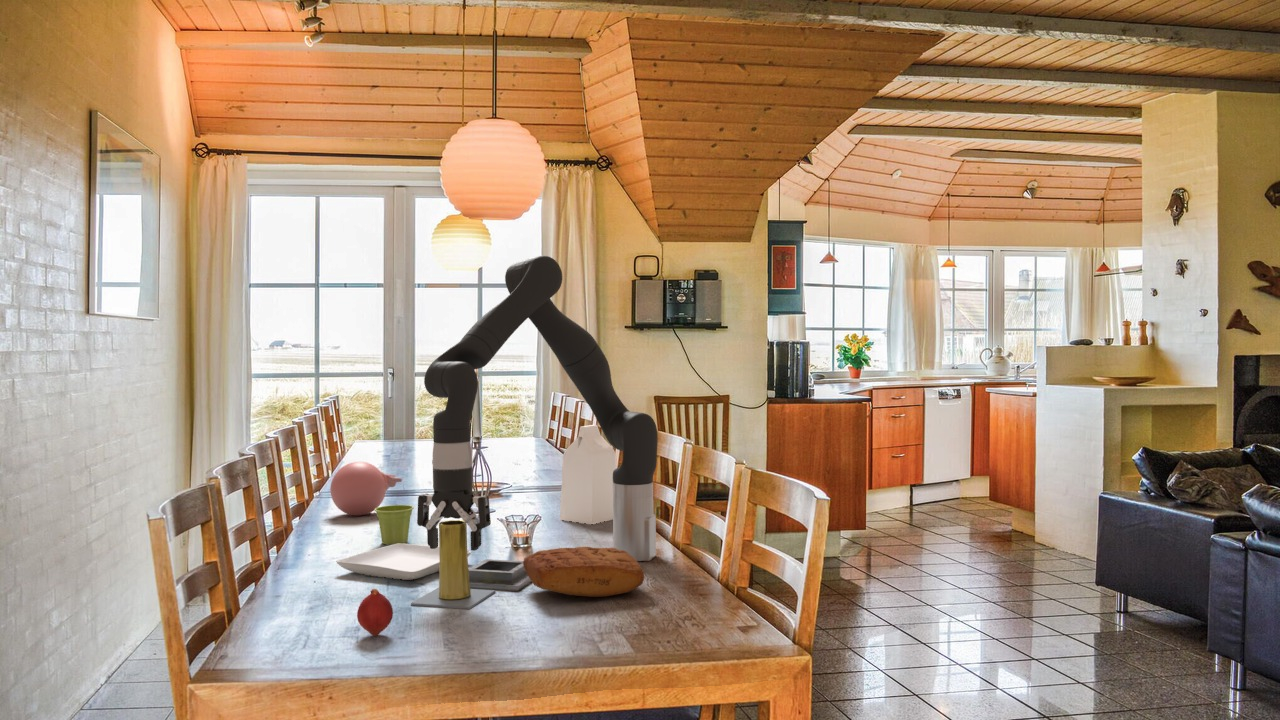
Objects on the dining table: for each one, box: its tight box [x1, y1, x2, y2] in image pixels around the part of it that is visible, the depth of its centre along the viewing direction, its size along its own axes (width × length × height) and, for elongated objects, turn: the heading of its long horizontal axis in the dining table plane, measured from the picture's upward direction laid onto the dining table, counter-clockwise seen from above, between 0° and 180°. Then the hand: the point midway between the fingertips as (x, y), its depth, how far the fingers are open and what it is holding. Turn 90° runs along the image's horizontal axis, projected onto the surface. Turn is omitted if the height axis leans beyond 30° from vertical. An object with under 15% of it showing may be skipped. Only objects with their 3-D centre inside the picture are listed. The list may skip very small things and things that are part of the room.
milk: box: [559, 424, 617, 525], centre depth 263 cm, size 12×12×26 cm
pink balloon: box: [330, 461, 403, 517], centre depth 273 cm, size 15×20×15 cm
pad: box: [410, 587, 496, 610], centre depth 183 cm, size 12×12×1 cm
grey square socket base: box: [469, 558, 532, 592], centre depth 196 cm, size 14×14×3 cm
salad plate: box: [336, 543, 472, 581], centre depth 207 cm, size 21×21×3 cm
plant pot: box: [374, 504, 414, 546], centre depth 234 cm, size 9×9×9 cm
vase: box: [438, 519, 471, 600], centre depth 183 cm, size 6×6×14 cm
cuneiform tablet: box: [523, 546, 645, 598], centre depth 186 cm, size 22×17×8 cm
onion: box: [356, 588, 394, 637], centre depth 160 cm, size 6×6×8 cm
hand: (454, 548), depth 182 cm, fingers open, 8 cm apart
